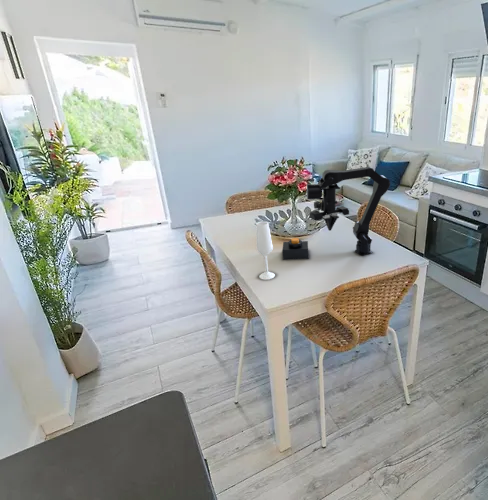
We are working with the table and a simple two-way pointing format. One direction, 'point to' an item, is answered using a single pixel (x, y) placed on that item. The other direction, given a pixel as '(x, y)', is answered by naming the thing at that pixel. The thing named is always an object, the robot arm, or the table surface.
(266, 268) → the champagne flute
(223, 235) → the table surface
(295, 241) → the switch button
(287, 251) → the switch box
